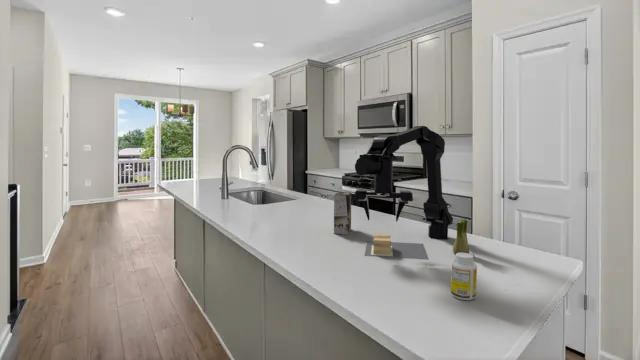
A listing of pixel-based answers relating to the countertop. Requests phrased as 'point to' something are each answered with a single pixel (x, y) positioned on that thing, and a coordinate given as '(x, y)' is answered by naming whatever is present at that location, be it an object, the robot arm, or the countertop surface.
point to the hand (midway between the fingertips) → (382, 220)
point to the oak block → (382, 244)
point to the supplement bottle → (463, 277)
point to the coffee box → (342, 213)
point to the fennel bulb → (461, 238)
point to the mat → (400, 250)
